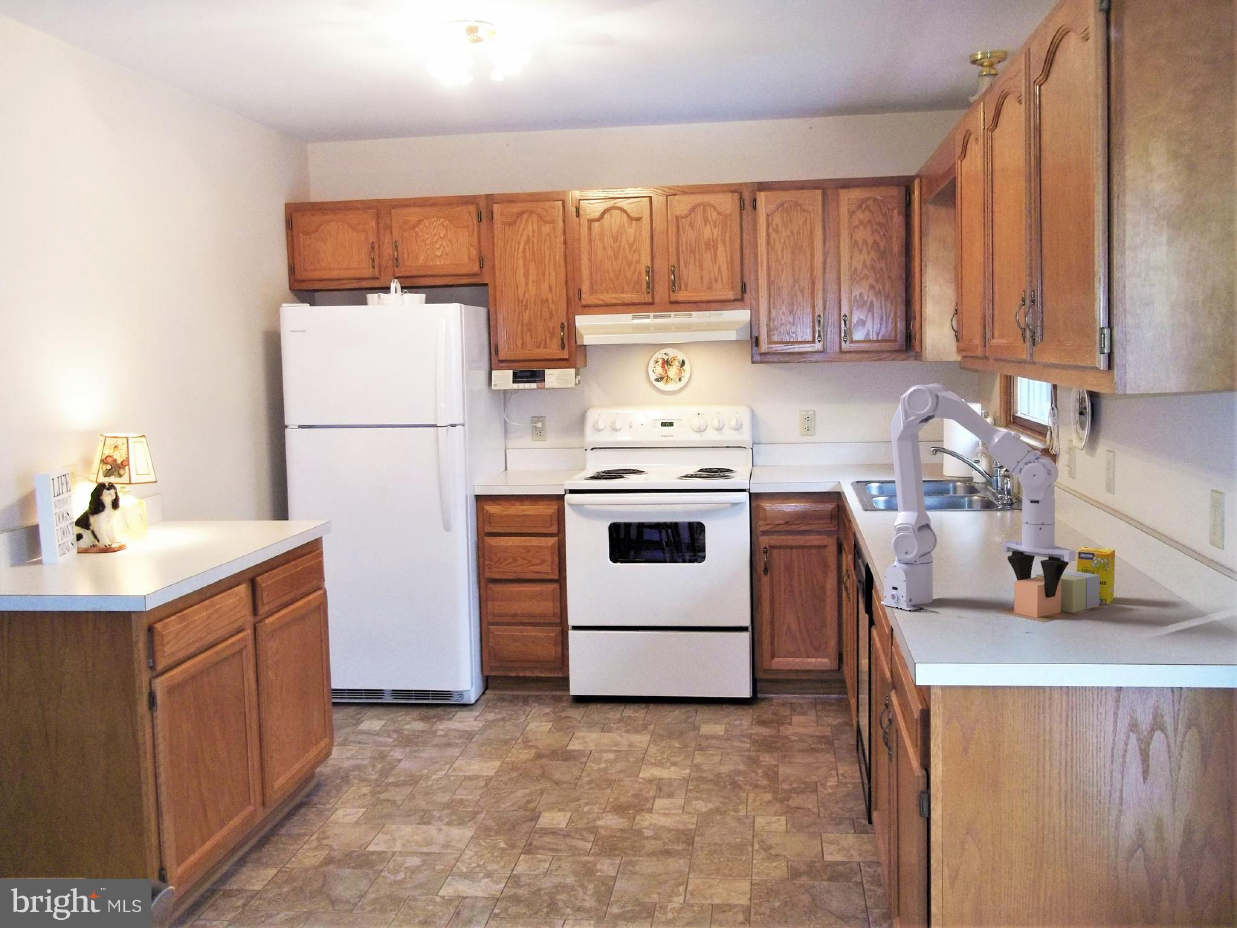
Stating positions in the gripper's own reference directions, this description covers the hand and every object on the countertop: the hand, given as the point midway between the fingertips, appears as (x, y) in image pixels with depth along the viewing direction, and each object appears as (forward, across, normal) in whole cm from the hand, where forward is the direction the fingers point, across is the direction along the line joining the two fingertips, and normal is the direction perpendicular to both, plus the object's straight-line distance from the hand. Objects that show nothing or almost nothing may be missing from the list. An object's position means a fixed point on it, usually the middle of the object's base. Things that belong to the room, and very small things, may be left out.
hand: (1037, 594), depth 206 cm
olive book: (+3, 0, -7) cm, 8 cm away
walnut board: (+4, 0, -4) cm, 6 cm away
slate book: (+3, 0, -11) cm, 12 cm away
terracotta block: (+3, 0, 0) cm, 3 cm away
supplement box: (+5, 0, -18) cm, 19 cm away
